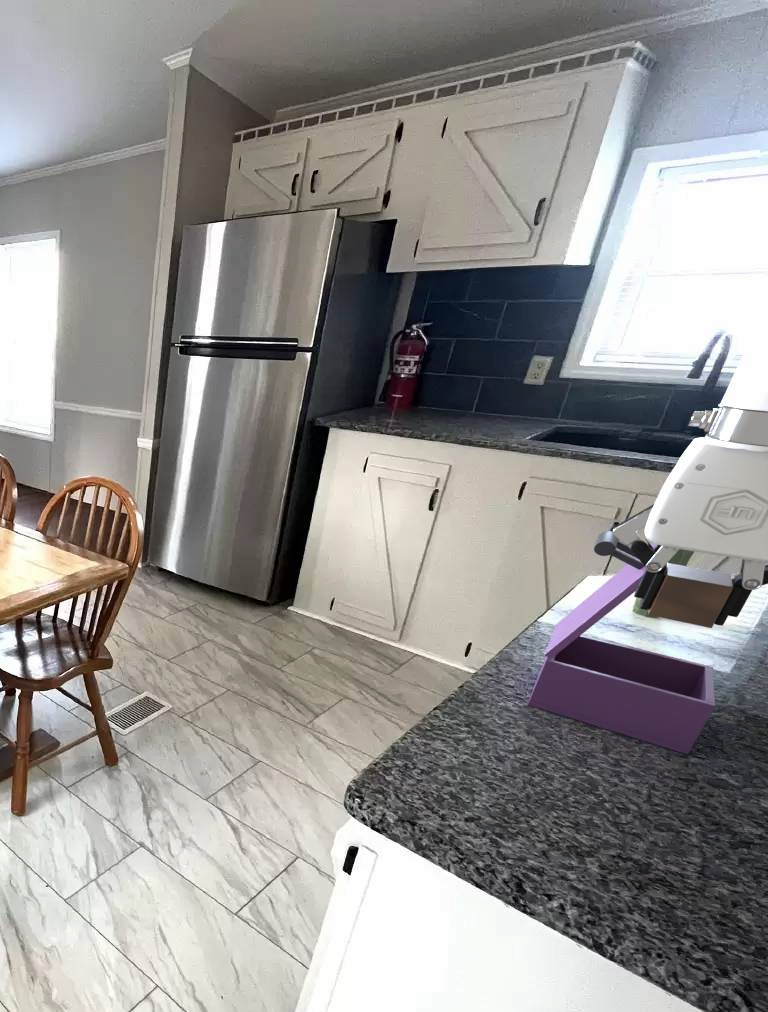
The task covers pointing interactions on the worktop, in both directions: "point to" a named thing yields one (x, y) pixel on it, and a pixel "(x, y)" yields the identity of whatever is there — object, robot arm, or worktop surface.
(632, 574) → the lid
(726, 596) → the block
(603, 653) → the document box
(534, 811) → the worktop surface
